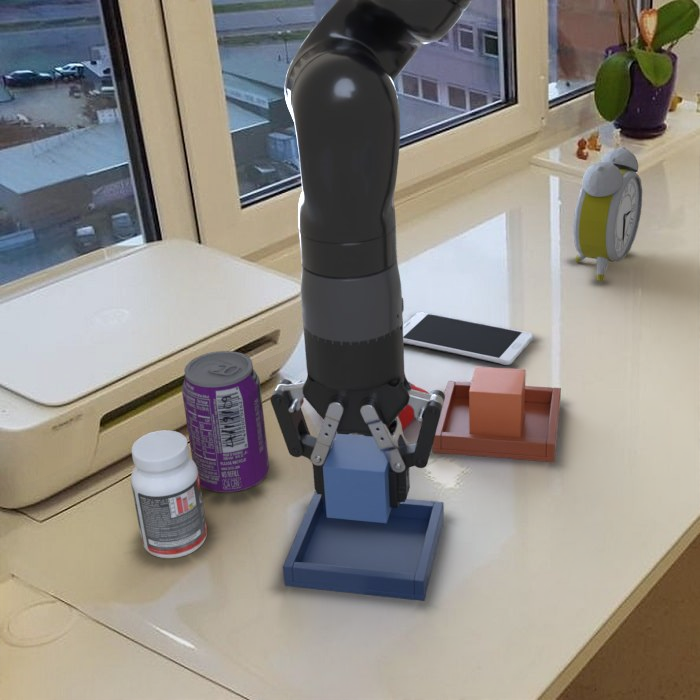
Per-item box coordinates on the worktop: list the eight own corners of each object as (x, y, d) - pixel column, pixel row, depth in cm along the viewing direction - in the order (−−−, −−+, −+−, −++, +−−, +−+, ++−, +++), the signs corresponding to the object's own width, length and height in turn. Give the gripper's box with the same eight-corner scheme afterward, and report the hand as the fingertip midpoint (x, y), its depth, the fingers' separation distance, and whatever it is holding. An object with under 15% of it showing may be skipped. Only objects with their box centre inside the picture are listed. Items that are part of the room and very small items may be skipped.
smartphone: (510, 362, 117) (389, 336, 124) (510, 367, 117) (389, 341, 124) (535, 333, 122) (418, 310, 129) (535, 338, 123) (418, 315, 129)
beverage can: (283, 464, 103) (271, 355, 97) (246, 505, 97) (232, 392, 92) (220, 450, 106) (205, 343, 100) (181, 489, 100) (163, 379, 95)
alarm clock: (609, 287, 134) (616, 172, 127) (557, 278, 137) (562, 165, 130) (639, 253, 142) (648, 144, 135) (590, 245, 146) (596, 138, 138)
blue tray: (443, 520, 94) (443, 501, 93) (424, 601, 85) (423, 581, 84) (316, 508, 96) (314, 490, 96) (284, 585, 87) (282, 566, 86)
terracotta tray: (560, 404, 110) (561, 387, 109) (554, 462, 101) (555, 444, 100) (448, 397, 112) (448, 380, 111) (432, 452, 103) (432, 435, 102)
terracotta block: (524, 412, 108) (525, 369, 106) (520, 439, 104) (521, 394, 101) (475, 408, 109) (475, 366, 107) (469, 435, 105) (469, 391, 102)
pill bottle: (221, 538, 93) (207, 443, 89) (168, 570, 90) (151, 472, 85) (182, 512, 97) (167, 419, 92) (129, 541, 94) (111, 446, 89)
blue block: (398, 487, 90) (396, 437, 87) (386, 523, 86) (384, 472, 83) (340, 482, 91) (337, 433, 89) (326, 517, 87) (322, 466, 84)
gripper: (246, 332, 78) (266, 518, 86) (439, 343, 75) (442, 535, 83) (275, 289, 85) (291, 466, 93) (454, 298, 82) (455, 480, 90)
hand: (363, 498), depth 88 cm, fingers closed on blue block, 5 cm apart
